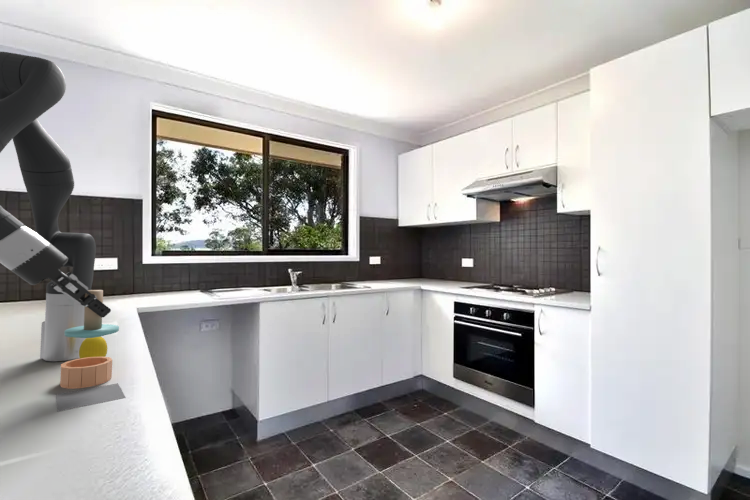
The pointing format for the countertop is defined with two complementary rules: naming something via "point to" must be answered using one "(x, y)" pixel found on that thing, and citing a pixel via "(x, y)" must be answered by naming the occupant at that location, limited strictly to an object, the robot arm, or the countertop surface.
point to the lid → (92, 323)
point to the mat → (88, 397)
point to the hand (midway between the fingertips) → (105, 312)
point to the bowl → (85, 372)
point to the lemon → (93, 347)
